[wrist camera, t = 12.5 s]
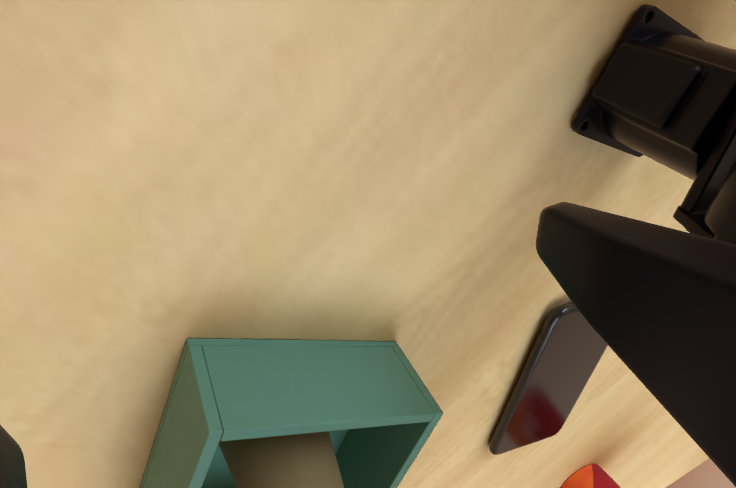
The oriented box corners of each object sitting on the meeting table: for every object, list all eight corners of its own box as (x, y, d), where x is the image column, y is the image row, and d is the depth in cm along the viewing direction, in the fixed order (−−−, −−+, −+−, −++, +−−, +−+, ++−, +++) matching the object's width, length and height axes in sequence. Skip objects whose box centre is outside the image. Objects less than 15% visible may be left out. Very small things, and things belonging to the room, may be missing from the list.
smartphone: (552, 427, 47) (628, 288, 39) (559, 435, 47) (637, 295, 38) (482, 450, 44) (548, 304, 35) (489, 459, 43) (557, 312, 35)
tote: (396, 341, 31) (444, 412, 27) (324, 475, 36) (356, 553, 32) (186, 337, 24) (208, 433, 20) (133, 504, 29) (143, 607, 25)
